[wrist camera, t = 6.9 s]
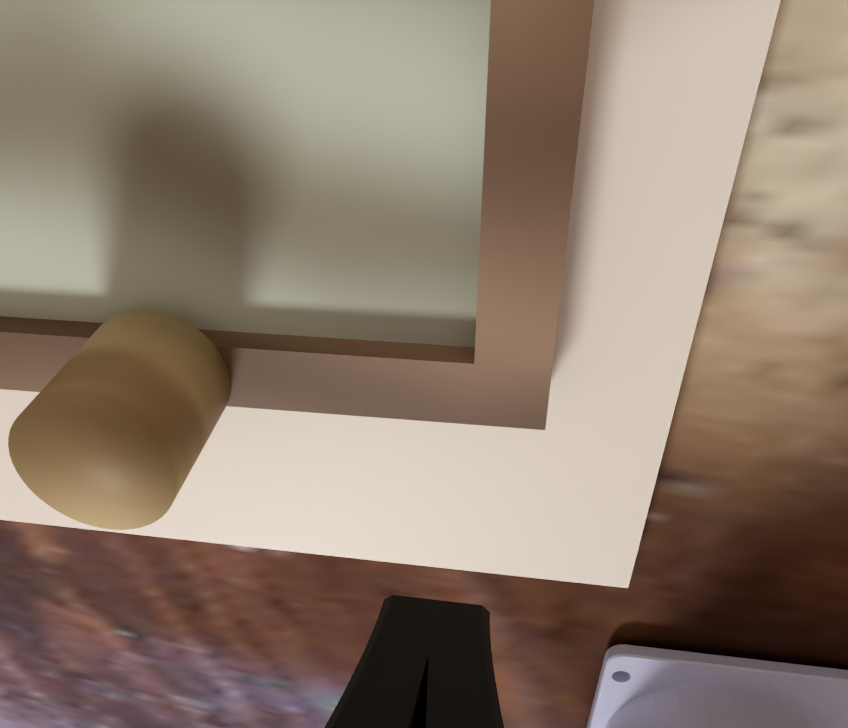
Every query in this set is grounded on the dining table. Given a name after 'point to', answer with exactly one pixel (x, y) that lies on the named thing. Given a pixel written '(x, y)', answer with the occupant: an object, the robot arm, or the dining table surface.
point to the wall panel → (572, 363)
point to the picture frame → (274, 223)
